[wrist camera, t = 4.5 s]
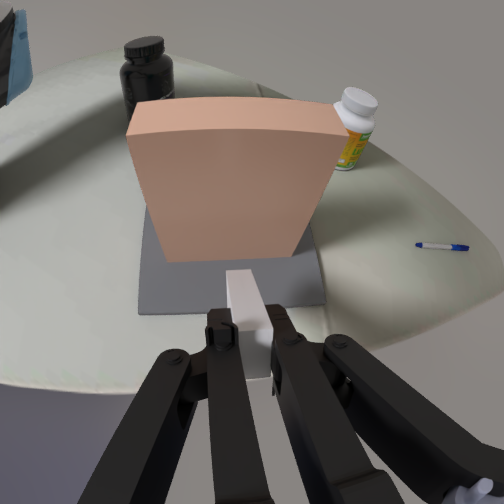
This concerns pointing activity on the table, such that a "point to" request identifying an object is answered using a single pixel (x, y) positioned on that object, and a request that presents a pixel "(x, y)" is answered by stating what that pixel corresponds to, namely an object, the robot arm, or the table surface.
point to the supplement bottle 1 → (146, 73)
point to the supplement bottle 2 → (355, 123)
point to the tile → (233, 172)
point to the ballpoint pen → (443, 246)
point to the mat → (224, 278)
